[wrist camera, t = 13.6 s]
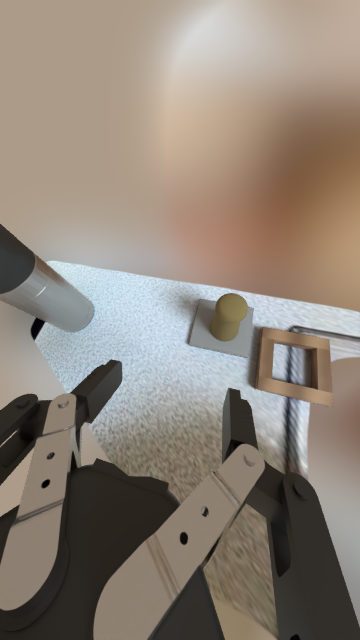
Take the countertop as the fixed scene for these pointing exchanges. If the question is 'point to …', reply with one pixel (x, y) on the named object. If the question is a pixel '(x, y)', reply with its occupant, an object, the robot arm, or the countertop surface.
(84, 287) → the countertop surface
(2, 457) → the robot arm
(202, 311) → the slate pad
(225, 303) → the cork
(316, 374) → the walnut socket
